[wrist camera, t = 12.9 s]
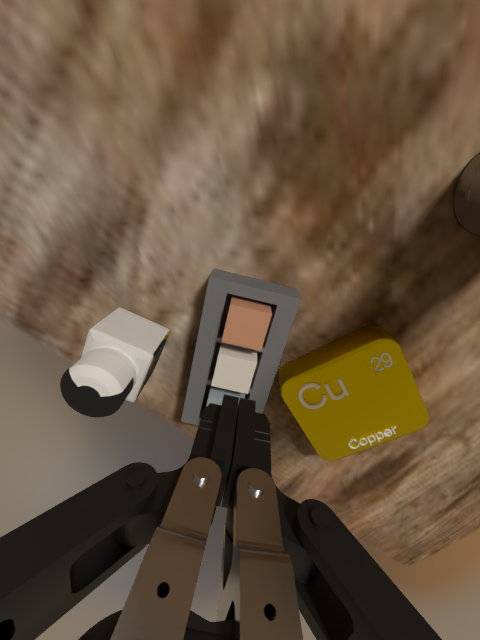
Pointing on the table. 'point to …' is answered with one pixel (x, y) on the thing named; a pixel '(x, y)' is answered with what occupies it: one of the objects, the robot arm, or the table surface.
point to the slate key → (221, 395)
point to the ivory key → (234, 368)
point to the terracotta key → (247, 322)
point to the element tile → (353, 394)
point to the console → (210, 341)
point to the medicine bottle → (113, 363)
